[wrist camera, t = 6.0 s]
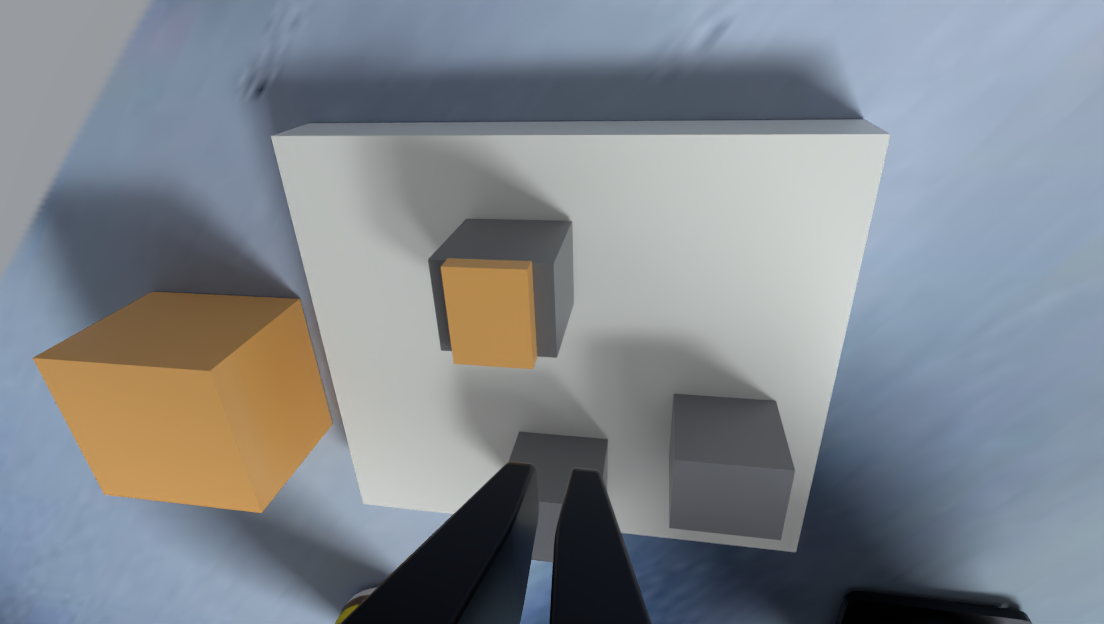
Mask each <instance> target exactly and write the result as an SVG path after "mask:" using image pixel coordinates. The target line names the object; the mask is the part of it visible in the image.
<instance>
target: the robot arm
mask: <svg viewBox="0 0 1104 624" xmlns="http://www.w3.org/2000/svg"><path fill="white" fill-rule="evenodd" d="M538 515H539V496H538V481H537V469H536V467H535V465H534V464H532V463H524V462H513V461H512V462H508V463H506V464H505V465H504V466H503V467H502V468H501V469H500V470H499V471H498V472H497V473H496V474H495V475H494V476H493V477H492V478H490V479H489V480H488V481H487V482H486V483H485V484H484V485H483V486H482V487H481V488H480V489H479V490H478V491H477V492H476V493H475V494H474V495H473V496H472V497H471V498H470V499H469V500H468V501H467V502H466V503H464V504H463V505H462V506H461V507H460V508H459V509H458V510H457V511H456V512H455V513H454V514H453V515H452V516H451V517H450V518H449V519H448V520H447V521H446V522H445V523H444V524H443V525H442V526H441V527H440V528H439V529H437V530H436V531H435V532H434V533H433V534H432V535H431V536H430V537H429V538H428V539H427V540H426V541H425V542H424V543H423V544H422V545H421V546H420V547H419V548H418V549H417V550H416V551H415V552H414V553H413V554H412V555H410V556H409V557H408V558H407V559H406V560H405V561H404V562H403V563H402V564H401V565H400V566H399V567H398V568H397V569H396V570H395V571H394V572H393V573H392V574H391V575H390V576H389V577H388V578H387V579H386V580H385V581H383V582H382V583H381V584H380V585H379V586H378V587H377V588H376V589H375V590H374V591H373V592H372V593H371V594H370V595H369V596H368V597H367V598H366V599H365V600H364V601H363V602H362V603H361V604H360V605H359V606H357V607H356V608H355V609H354V610H353V611H352V612H351V613H350V614H349V615H348V616H347V617H346V618H345V619H344V620H343V621H342V622H341V623H340V624H520V620H521V615H522V610H523V605H524V600H525V594H526V588H527V582H528V576H529V570H530V564H531V558H532V552H533V546H534V540H535V534H536V529H537V523H538ZM550 624H651V621H650V618H649V615H648V612H647V609H646V606H645V603H644V600H643V597H642V594H641V591H640V588H639V585H638V582H637V579H636V576H635V573H634V570H633V567H632V564H631V561H630V558H629V555H628V552H627V549H626V546H625V543H624V540H623V537H622V534H621V531H620V528H619V525H618V522H617V519H616V516H615V513H614V510H613V507H612V504H611V501H610V499H609V496H608V493H607V490H606V487H605V484H604V481H603V478H602V475H601V473H600V471H599V470H597V469H588V468H578V467H576V468H573V469H572V471H571V473H570V477H569V481H568V484H567V488H566V492H565V496H564V500H563V504H562V508H561V511H560V515H559V519H558V523H557V528H556V533H555V541H554V554H553V571H552V589H551V607H550ZM836 624H1032V623H1031V621H1030V619H1029V618H1028V616H1027V614H1026V613H1024V612H1022V611H1018V610H1011V609H1003V608H995V607H986V606H978V605H970V604H961V603H953V602H945V601H936V600H928V599H920V598H912V597H903V596H895V595H887V594H878V593H870V592H862V591H853V592H850V593H848V594H846V595H845V597H844V598H843V602H842V605H841V608H840V612H839V615H838V619H837V622H836Z"/></svg>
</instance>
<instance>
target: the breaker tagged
mask: <svg viewBox="0 0 1104 624" xmlns="http://www.w3.org/2000/svg"><path fill="white" fill-rule="evenodd" d="M428 264H429V271H430V278H431V285H432V292H433V299H434V306H435V313H436V319H437V326H438V333H439V340H440V347H441V351H452V355H453V363H454V364H461V365H476V366H491V367H507V368H522V369H533V368H534V366H535V363H536V360H537V357H552V358H557V356H558V353H559V350H560V347H561V343H562V340H563V337H564V334H565V331H566V327H567V324H568V321H569V318H570V315H571V311H572V308H573V305H574V279H573V230H572V221H551V220H506V219H465V220H464V221H463V223H462V224H461V225H460V226H459V227H458V228H457V229H456V230H455V231H454V232H453V233H452V234H451V235H450V236H449V237H448V239H447V240H446V241H445V242H444V243H443V244H442V245H441V246H440V247H439V248H438V249H437V250H436V251H435V252H434V253H433V255H432V256H431V257H430V258H429V259H428Z"/></svg>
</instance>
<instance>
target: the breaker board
mask: <svg viewBox="0 0 1104 624" xmlns="http://www.w3.org/2000/svg"><path fill="white" fill-rule="evenodd" d="M271 139H272V143H273V147H274V151H275V155H276V158H277V162H278V166H279V170H280V174H281V178H282V182H283V186H284V190H285V194H286V198H287V202H288V206H289V210H290V214H291V218H292V222H293V226H294V230H295V234H296V238H297V242H298V246H299V250H300V254H301V258H302V262H303V266H304V270H305V274H306V278H307V282H308V286H309V290H310V294H311V298H312V302H313V306H314V310H315V313H316V317H317V321H318V325H319V329H320V333H321V337H322V341H323V345H324V349H325V353H326V357H327V361H328V365H329V369H330V373H331V377H332V381H333V385H334V389H335V393H336V397H337V401H338V405H339V409H340V413H341V417H342V421H343V425H344V429H345V433H346V437H347V441H348V445H349V449H350V453H351V457H352V461H353V465H354V469H355V472H356V476H357V480H358V484H359V488H360V492H361V496H362V500H363V504H368V505H377V506H386V507H395V508H404V509H413V510H422V511H431V512H440V513H449V514H454V513H455V512H456V511H457V510H458V509H459V508H460V507H461V506H462V505H463V504H464V503H466V502H467V501H468V500H469V499H470V498H471V497H472V496H473V495H474V494H475V493H476V492H477V491H478V490H479V489H480V488H481V487H482V486H483V485H484V484H485V483H486V482H487V481H488V480H489V479H490V478H492V477H493V476H494V475H495V474H496V473H497V472H498V471H499V470H500V469H501V468H502V467H503V466H504V465H505V464H506V463H508V462H512V461H513V462H524V463H532V464H534V465H535V467H536V469H537V481H538V496H539V515H538V523H537V529H536V534H535V540H534V546H533V552H532V558H531V560H538V561H547V562H553V554H554V541H555V533H556V528H557V523H558V519H559V515H560V511H561V508H562V504H563V500H564V496H565V492H566V488H567V484H568V481H569V477H570V473H571V471H572V469H573V468H576V467H578V468H588V469H597V470H599V471H600V473H601V475H602V478H603V481H604V484H605V487H606V490H607V493H608V496H609V499H610V501H611V504H612V507H613V510H614V513H615V516H616V519H617V522H618V525H619V528H620V531H621V533H627V534H636V535H645V536H654V537H663V538H672V539H681V540H690V541H699V542H708V543H717V544H726V545H735V546H744V547H752V548H761V549H770V550H779V551H788V552H796V550H797V546H798V541H799V537H800V532H801V528H802V524H803V519H804V515H805V510H806V506H807V501H808V497H809V493H810V488H811V484H812V479H813V475H814V470H815V466H816V462H817V457H818V453H819V448H820V444H821V440H822V435H823V431H824V426H825V422H826V417H827V413H828V409H829V404H830V400H831V395H832V391H833V386H834V382H835V378H836V373H837V369H838V364H839V360H840V355H841V351H842V347H843V342H844V338H845V333H846V329H847V324H848V320H849V316H850V311H851V307H852V302H853V298H854V294H855V289H856V285H857V280H858V276H859V271H860V267H861V263H862V258H863V254H864V249H865V245H866V240H867V236H868V232H869V227H870V223H871V218H872V214H873V209H874V205H875V201H876V196H877V192H878V187H879V183H880V178H881V174H882V170H883V165H884V161H885V156H886V152H887V148H888V143H889V139H890V134H889V133H888V132H886V131H884V130H883V129H881V128H879V127H877V126H876V125H874V124H872V123H871V122H869V121H867V120H865V119H847V120H704V121H561V122H417V123H308V124H305V125H302V126H299V127H296V128H293V129H290V130H287V131H284V132H281V133H278V134H275V135H272V136H271ZM465 219H506V220H551V221H572V230H573V279H574V305H573V308H572V311H571V315H570V318H569V321H568V324H567V327H566V331H565V334H564V337H563V340H562V343H561V347H560V350H559V353H558V356H557V358H552V357H537V360H536V363H535V366H534V368H533V369H522V368H507V367H491V366H476V365H461V364H454V363H453V355H452V351H441V347H440V340H439V333H438V326H437V319H436V313H435V306H434V299H433V292H432V285H431V278H430V271H429V264H428V259H429V258H430V257H431V256H432V255H433V253H434V252H435V251H436V250H437V249H438V248H439V247H440V246H441V245H442V244H443V243H444V242H445V241H446V240H447V239H448V237H449V236H450V235H451V234H452V233H453V232H454V231H455V230H456V229H457V228H458V227H459V226H460V225H461V224H462V223H463V221H464V220H465Z"/></svg>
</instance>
